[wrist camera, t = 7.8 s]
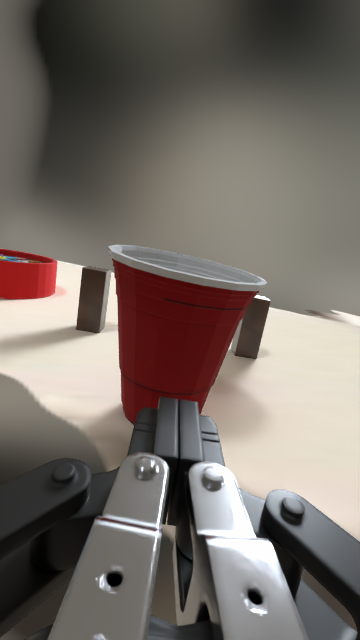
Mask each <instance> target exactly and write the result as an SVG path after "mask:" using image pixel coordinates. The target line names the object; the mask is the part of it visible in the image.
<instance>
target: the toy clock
mask: <svg viewBox="0 0 360 640" xmlns="http://www.w3.org/2000/svg"><path fill="white" fill-rule="evenodd" d="M56 272H57V261H56V260H54V259H51V258H48V257H44V256H40V255H34V254H30V253H24V252H19V251H12V250H5V249H0V299H34V298H43V297H48V296H51V295H53V294H54V293H55V285H56Z"/></svg>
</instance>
